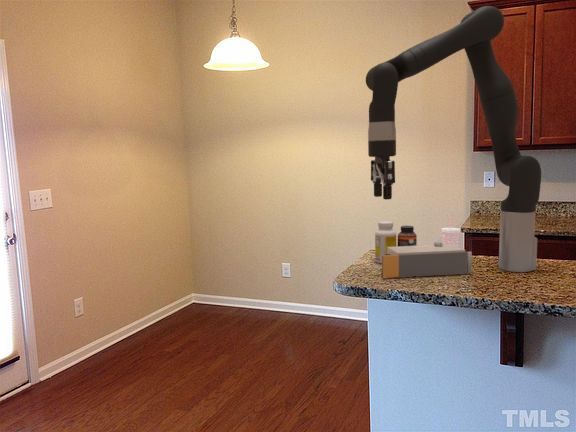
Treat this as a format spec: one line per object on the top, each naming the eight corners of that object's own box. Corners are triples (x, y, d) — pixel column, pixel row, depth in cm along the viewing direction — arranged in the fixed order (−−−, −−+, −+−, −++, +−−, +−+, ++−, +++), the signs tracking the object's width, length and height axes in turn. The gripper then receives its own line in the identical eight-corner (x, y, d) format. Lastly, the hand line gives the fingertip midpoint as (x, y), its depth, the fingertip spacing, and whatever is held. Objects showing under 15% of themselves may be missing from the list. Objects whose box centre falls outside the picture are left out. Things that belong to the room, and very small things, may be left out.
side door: (469, 272, 144) (470, 251, 143) (471, 273, 143) (472, 252, 142) (381, 276, 141) (381, 255, 140) (383, 277, 140) (383, 256, 139)
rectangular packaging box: (450, 266, 153) (451, 241, 152) (464, 273, 144) (465, 247, 143) (383, 270, 150) (383, 244, 149) (393, 277, 141) (393, 250, 140)
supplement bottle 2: (416, 263, 158) (417, 227, 157) (397, 262, 160) (397, 227, 158) (415, 259, 164) (416, 224, 163) (397, 258, 165) (397, 224, 164)
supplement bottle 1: (399, 261, 162) (399, 221, 160) (391, 265, 157) (392, 224, 155) (379, 259, 166) (379, 220, 164) (371, 263, 160) (371, 223, 158)
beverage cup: (442, 252, 173) (443, 212, 171) (460, 254, 170) (461, 213, 168) (439, 256, 167) (440, 214, 166) (458, 257, 165) (459, 215, 163)
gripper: (404, 138, 132) (404, 199, 134) (387, 139, 146) (387, 195, 148) (376, 139, 131) (377, 201, 133) (361, 140, 145) (362, 196, 147)
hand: (382, 197), depth 140 cm, fingers open, 8 cm apart
